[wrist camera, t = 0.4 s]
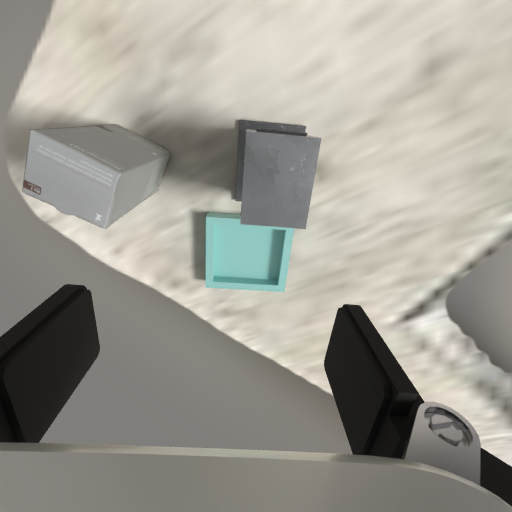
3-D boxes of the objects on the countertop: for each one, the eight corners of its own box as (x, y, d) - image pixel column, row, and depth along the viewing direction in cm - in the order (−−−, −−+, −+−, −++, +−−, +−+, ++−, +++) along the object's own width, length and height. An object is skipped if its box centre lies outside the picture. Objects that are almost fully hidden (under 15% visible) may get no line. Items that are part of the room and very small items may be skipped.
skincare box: (172, 151, 39) (128, 168, 24) (156, 196, 41) (108, 234, 27) (112, 120, 37) (27, 118, 22) (99, 169, 39) (15, 195, 25)
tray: (207, 212, 43) (205, 216, 40) (292, 218, 43) (294, 223, 41) (207, 280, 48) (205, 287, 46) (282, 284, 49) (284, 291, 47)
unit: (239, 119, 37) (235, 117, 24) (305, 126, 38) (333, 127, 25) (235, 199, 42) (230, 232, 29) (293, 204, 42) (312, 238, 30)
